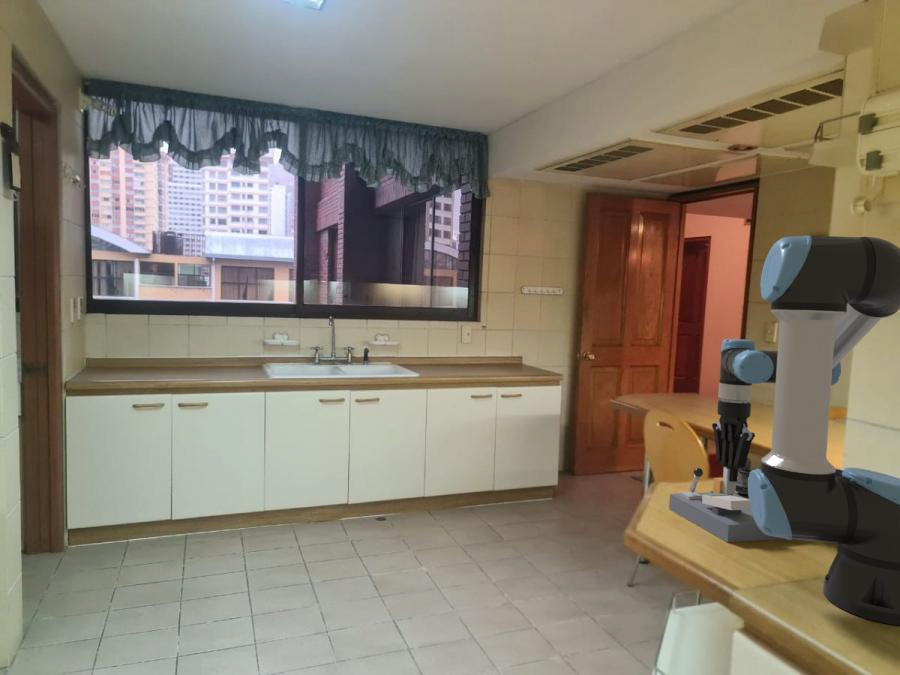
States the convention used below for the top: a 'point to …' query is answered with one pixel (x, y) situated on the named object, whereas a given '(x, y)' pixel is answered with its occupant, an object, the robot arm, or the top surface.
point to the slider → (718, 486)
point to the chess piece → (743, 480)
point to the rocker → (726, 501)
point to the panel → (718, 518)
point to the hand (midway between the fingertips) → (728, 492)
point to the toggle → (695, 479)
